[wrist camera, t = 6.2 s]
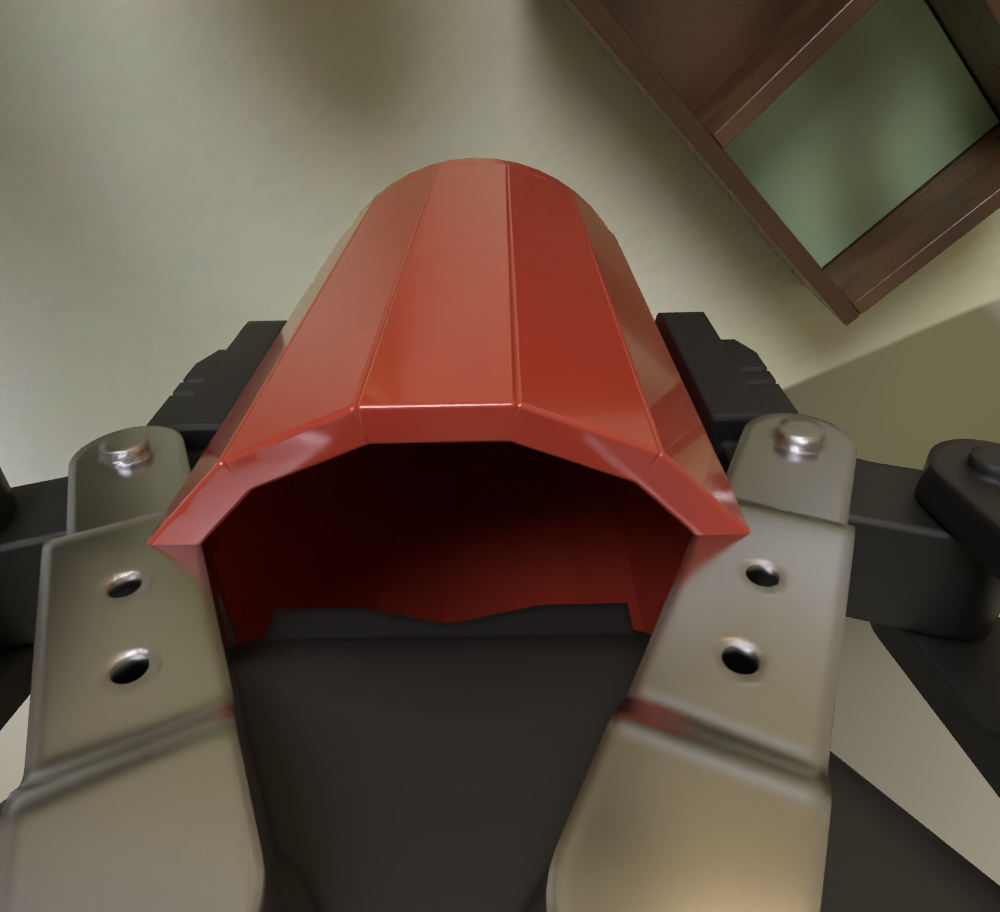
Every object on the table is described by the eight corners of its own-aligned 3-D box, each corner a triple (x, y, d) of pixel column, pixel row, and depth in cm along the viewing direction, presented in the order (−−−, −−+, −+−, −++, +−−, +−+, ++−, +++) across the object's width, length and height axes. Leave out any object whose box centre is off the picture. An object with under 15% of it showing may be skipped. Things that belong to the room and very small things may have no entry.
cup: (352, 443, 16) (222, 845, 9) (306, 161, 13) (26, 412, 5) (618, 438, 16) (724, 839, 8) (641, 152, 13) (850, 396, 5)
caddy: (805, 286, 29) (846, 326, 26) (509, -60, 23) (511, -68, 19) (1012, 117, 26) (1091, 137, 22) (731, -348, 19) (781, -420, 16)
